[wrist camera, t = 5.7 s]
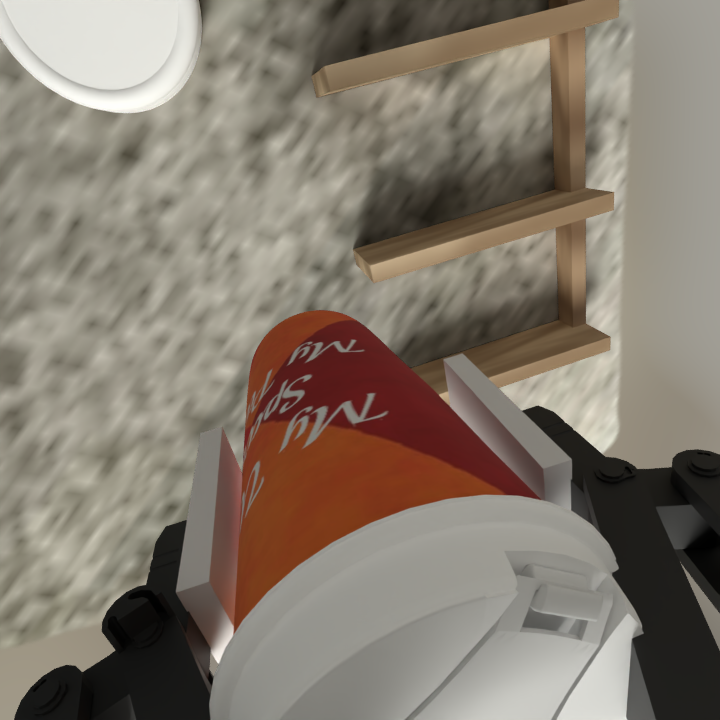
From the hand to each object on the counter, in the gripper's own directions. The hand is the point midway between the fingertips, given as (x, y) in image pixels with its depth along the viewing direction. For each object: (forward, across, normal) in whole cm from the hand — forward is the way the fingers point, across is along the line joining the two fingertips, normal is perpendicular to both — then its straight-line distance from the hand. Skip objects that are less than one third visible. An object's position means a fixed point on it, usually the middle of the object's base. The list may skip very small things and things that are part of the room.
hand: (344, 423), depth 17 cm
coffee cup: (+5, 0, 0) cm, 5 cm away
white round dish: (+20, -6, +18) cm, 27 cm away
